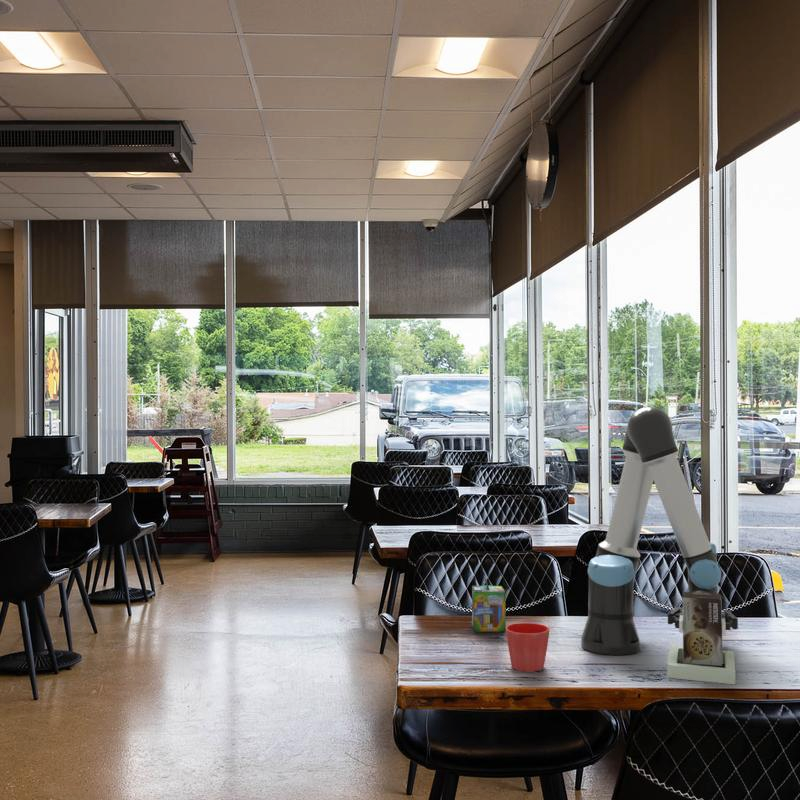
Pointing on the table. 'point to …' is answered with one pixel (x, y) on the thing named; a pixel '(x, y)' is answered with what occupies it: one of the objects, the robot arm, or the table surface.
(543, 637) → the flower pot
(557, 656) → the table surface
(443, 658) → the table surface
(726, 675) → the sage collar
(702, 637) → the coffee box
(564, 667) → the table surface
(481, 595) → the chalk box
